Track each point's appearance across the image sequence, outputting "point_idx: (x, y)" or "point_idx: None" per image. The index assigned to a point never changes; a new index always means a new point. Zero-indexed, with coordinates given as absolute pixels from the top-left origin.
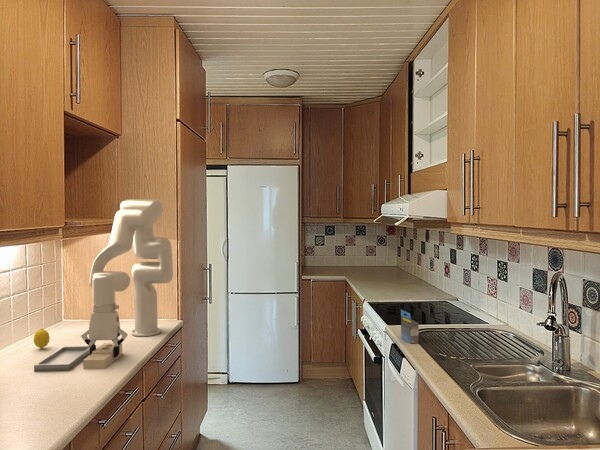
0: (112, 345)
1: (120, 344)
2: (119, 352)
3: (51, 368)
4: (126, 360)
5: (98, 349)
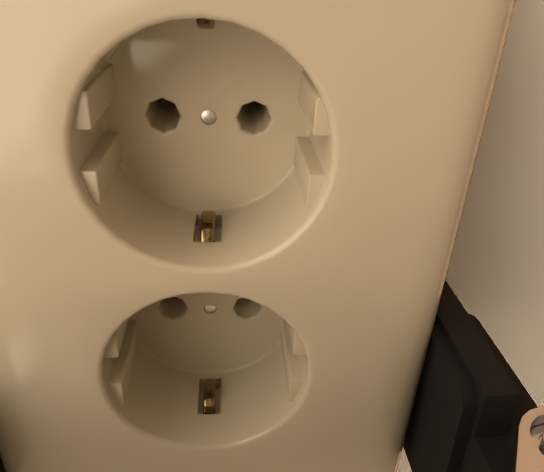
0: (251, 25)
1: (509, 1)
2: (474, 318)
3: None
4: (535, 305)
5: (77, 444)
